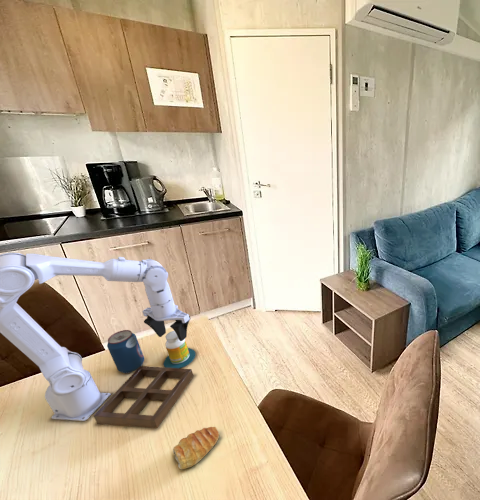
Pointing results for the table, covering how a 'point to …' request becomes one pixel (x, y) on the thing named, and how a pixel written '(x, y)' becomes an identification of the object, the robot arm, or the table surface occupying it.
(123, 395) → the rack
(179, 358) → the supplement bottle
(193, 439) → the pastry
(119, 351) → the soda can
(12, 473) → the table surface
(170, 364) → the coaster
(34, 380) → the table surface
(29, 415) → the table surface
